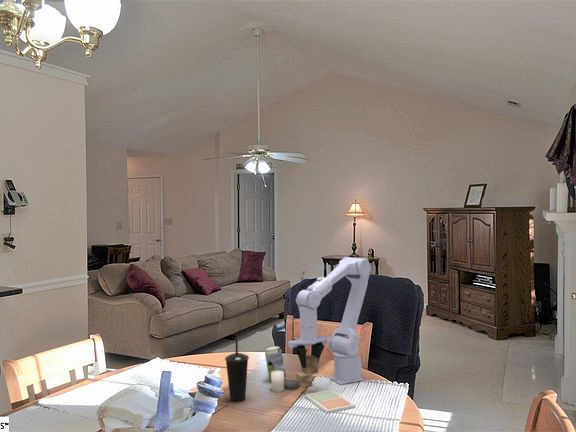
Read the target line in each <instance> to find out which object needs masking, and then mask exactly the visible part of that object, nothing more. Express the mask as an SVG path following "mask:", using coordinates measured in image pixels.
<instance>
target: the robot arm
mask: <svg viewBox="0 0 576 432" xmlns="http://www.w3.org/2000/svg"><path fill="white" fill-rule="evenodd" d="M371 271H372V266H371V264H370V261H369V260H368V258H365V257H349V256H345V257H342V259H341V260H339V262H338V265H337V266H335V268H334V269H333V270H332V271H331V272H330V273H328V275H326V277H324V276H321V277H317V278H316V281H315V282H313V283H312V284H311V285H308V287H307V288H306V289H302V290H300V291H299V292H298V293H297V294H296V298H295V303H296V305H297V307H298V311H299V328H300V331H299V332H300V333H299V335H300V337H299V338H297V339H294V340H289V341H287V344H288V345H287V347H288V348H289V349H294V350H295V352H296V354H297V356H298V360H299V362H300V363H299V364H300V367H301V369H302V368H306V356H307V351H308V349H307V348H306V347H305V346H311V349H312V350H311V351H312V355H313V356H315V357H317V358H318V364H319V363H320V358H321V356H322V352H323V351H324V349H325V343H326V344H328V347H329V349H330V351H331V352H332V353H331V355H333V371H334V372H333V373H334V374H333V375H334V376H333V375H332V376H329V379H331V380H332V381H334V382H336V383H337V384H339V385H346V384H352V383H356V382H361V381H364V378H363V372H362V371H363V367H362V359H361V356H360V355H359V354H358V352H359V345H360V344H359V341H360V336H359V333H358V332H357V331H356V328H357V325H358V321H359V316H360V314H361V309H362V306H363V304H364V303H363V302H364V299H365V296H366V291H367V288H368V284H369V282H368V281H369V278H370V273H371ZM344 277H345V278H347V279H348V281H350V283H351V286H350V290H349V295H348V298H347V301H346V305H345V309H344V312H343V315H342V320H341V323H340V325H339V326H338V327H337V328H335V329H334V330H333V333H332V335H331V336H330V337H329V336H328V335H324V336H322V335H321V336H320V335H319V336H318V307H319V306H320V304H321V302H322V299H323V298H324V297H326V296H327V295H328V294H329V293H330V292H331V291H332V289H333V285H335V284H336V283H337V282H338V281H340V280H341V279H342V278H344Z"/></svg>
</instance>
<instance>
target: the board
mask: <svg viewBox="0 0 576 432" xmlns="http://www.w3.org/2000/svg"><path fill="white" fill-rule="evenodd" d="M304 398H305V399H307V400H308V401H309V402H311V403H312V404H313V405H314V406H316V407H318V408H319V409H320V410H322V411H323V412H324V413H326V414H330V413H335V412H341V411H345V410H344V409H346V410H350V409H349V408H351V409H354V408H355V409H356V404H355V403H354V402H351V401H350V400H348V399H347V398H345V397H344V396H342V395H341V394H339V393H338V392H336V391H334V390H333V389H330V390H329V389H327V390H323V391H316V392H313V393H312V392H311V393H308V394H304ZM340 410H341V411H340Z"/></svg>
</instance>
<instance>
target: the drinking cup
mask: <svg viewBox="0 0 576 432" xmlns="http://www.w3.org/2000/svg"><path fill="white" fill-rule="evenodd" d="M234 341H235V352H233V353H231V354H228V355H226V356H225V358H224V360H225V363H226V364H225V365H226V371H227V372H226V373H227V381H228V382H227V383H228V389H229V397H230V398H229V399H230V402H232V403H233V402H234V403H240V402H244V401H246V393H247V380H248V379H247V378H248V366H249V365H248V364H249V358H250V357H249V355H247V354H244V353H241V352H239V348H238V347H239V346H238V341H239V340H238V337H235V340H234Z"/></svg>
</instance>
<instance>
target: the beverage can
mask: <svg viewBox="0 0 576 432" xmlns="http://www.w3.org/2000/svg"><path fill="white" fill-rule="evenodd" d="M282 352H283V351H282V349H281V348H280V346H270V347H267V348H266V350H265V353H264V355H265V361H266V367H267V374H268V380H269V381H271V372H272V371H275V370H281V371H284V379H286V377H287V375H286V374H287V373H286V369H285V363H284V358H283V357H284V356H283V353H282Z"/></svg>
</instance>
